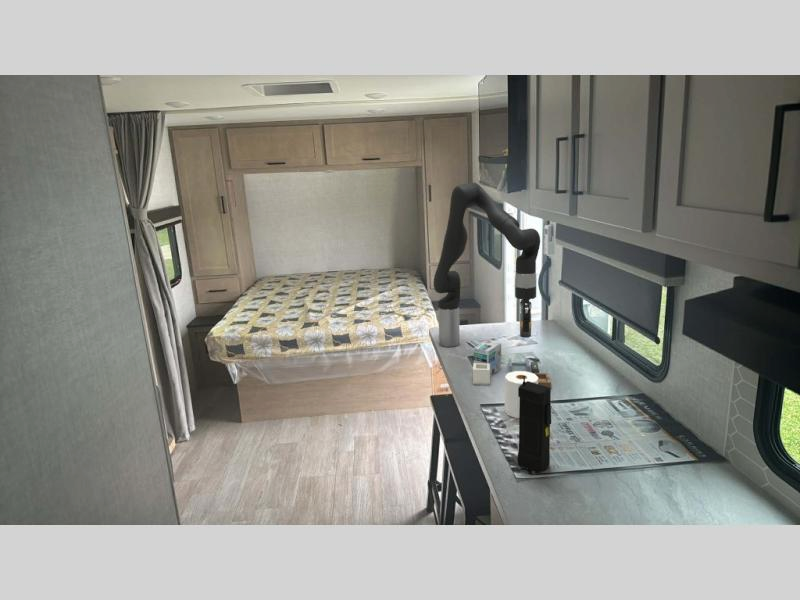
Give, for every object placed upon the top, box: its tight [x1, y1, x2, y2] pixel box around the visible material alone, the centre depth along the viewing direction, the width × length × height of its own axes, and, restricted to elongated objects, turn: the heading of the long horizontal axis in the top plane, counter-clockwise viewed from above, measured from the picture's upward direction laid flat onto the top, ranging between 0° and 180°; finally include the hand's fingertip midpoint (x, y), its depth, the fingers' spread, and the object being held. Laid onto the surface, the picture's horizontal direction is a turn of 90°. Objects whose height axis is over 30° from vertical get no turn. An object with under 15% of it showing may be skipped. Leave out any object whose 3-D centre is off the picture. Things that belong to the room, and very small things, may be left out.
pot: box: [472, 362, 491, 386], centre depth 191 cm, size 6×6×6 cm
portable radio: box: [517, 376, 552, 474], centre depth 135 cm, size 8×6×25 cm
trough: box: [533, 372, 552, 389], centre depth 187 cm, size 8×8×2 cm
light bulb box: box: [473, 340, 502, 377], centre depth 200 cm, size 11×7×11 cm, turn 143°
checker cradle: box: [505, 357, 541, 374], centre depth 198 cm, size 11×12×4 cm
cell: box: [519, 312, 532, 339], centre depth 190 cm, size 4×4×9 cm
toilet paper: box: [504, 371, 538, 419], centre depth 166 cm, size 10×10×12 cm
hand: (525, 330), depth 191 cm, fingers closed on cell, 4 cm apart
